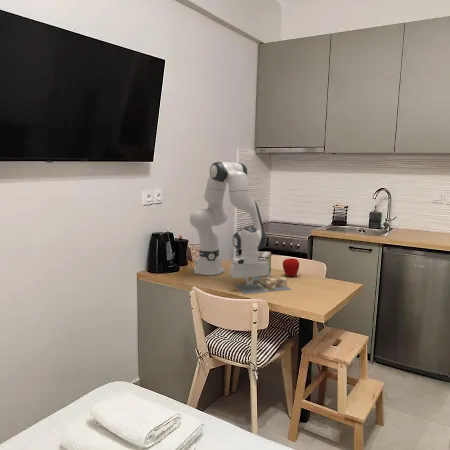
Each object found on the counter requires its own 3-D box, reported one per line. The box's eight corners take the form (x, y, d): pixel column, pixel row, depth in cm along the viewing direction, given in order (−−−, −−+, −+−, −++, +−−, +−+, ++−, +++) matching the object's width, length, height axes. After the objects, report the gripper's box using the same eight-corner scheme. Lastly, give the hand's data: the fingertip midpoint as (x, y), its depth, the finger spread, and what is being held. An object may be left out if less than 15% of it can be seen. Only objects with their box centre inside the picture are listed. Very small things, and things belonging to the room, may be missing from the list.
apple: (294, 273, 252) (294, 255, 251) (302, 277, 243) (302, 258, 242) (279, 274, 249) (279, 256, 248) (286, 278, 240) (287, 260, 239)
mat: (234, 286, 225) (234, 285, 225) (279, 282, 232) (279, 281, 232) (244, 295, 210) (244, 294, 209) (292, 291, 216) (292, 289, 216)
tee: (268, 290, 215) (268, 283, 214) (260, 284, 226) (260, 277, 226) (289, 288, 218) (290, 281, 217) (281, 282, 229) (281, 275, 229)
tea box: (268, 282, 232) (268, 256, 230) (250, 282, 234) (250, 256, 232) (271, 275, 247) (271, 251, 245) (254, 275, 249) (254, 250, 247)
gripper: (266, 256, 222) (266, 281, 224) (229, 258, 217) (229, 284, 219) (271, 259, 216) (270, 284, 218) (232, 261, 211) (232, 288, 213)
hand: (249, 284), depth 219 cm, fingers closed
